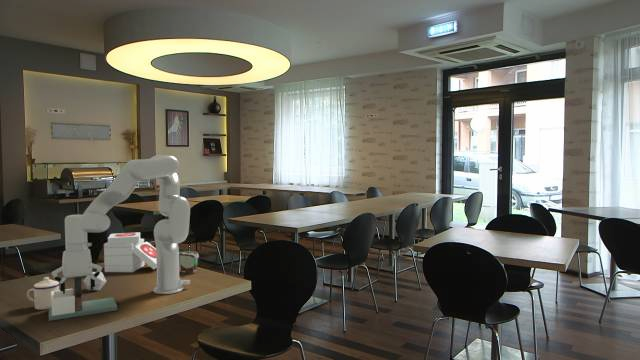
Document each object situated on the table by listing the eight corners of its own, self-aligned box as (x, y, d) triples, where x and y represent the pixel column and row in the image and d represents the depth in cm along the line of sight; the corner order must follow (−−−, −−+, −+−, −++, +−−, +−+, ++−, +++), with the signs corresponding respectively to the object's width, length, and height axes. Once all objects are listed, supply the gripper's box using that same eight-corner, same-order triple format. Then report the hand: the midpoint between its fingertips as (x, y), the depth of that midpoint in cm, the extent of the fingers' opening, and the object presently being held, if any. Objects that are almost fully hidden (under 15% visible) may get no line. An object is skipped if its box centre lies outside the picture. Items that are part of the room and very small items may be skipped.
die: (91, 294, 204) (105, 275, 206) (75, 284, 205) (90, 265, 208) (99, 296, 211) (113, 277, 214) (84, 286, 213) (98, 268, 215)
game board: (113, 300, 192) (112, 283, 192) (117, 310, 181) (116, 291, 180) (48, 310, 181) (48, 291, 181) (48, 320, 169) (48, 300, 169)
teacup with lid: (64, 302, 191) (63, 274, 190) (53, 309, 182) (52, 280, 181) (34, 303, 190) (33, 275, 190) (21, 310, 181) (20, 281, 180)
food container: (204, 271, 241) (204, 252, 241) (195, 274, 236) (195, 254, 236) (187, 268, 248) (187, 250, 247) (178, 271, 243) (178, 252, 242)
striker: (81, 302, 185) (80, 275, 184) (82, 309, 176) (82, 280, 176) (74, 303, 184) (73, 275, 183) (75, 310, 175) (74, 281, 175)
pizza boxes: (156, 273, 239) (155, 238, 238) (98, 272, 240) (97, 238, 240) (169, 264, 258) (168, 232, 257) (116, 264, 259) (115, 232, 259)
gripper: (100, 243, 187) (101, 285, 187) (50, 247, 178) (52, 292, 179) (102, 246, 180) (103, 290, 181) (50, 251, 171) (52, 297, 172)
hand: (78, 291), depth 180 cm, fingers open, 9 cm apart
